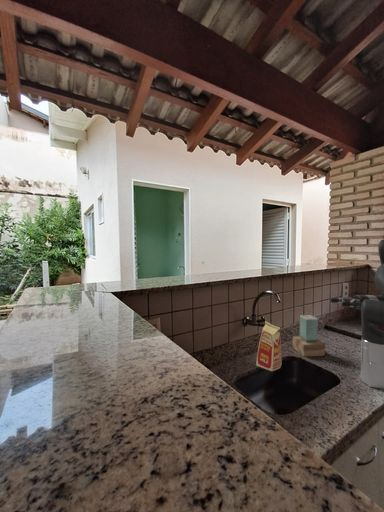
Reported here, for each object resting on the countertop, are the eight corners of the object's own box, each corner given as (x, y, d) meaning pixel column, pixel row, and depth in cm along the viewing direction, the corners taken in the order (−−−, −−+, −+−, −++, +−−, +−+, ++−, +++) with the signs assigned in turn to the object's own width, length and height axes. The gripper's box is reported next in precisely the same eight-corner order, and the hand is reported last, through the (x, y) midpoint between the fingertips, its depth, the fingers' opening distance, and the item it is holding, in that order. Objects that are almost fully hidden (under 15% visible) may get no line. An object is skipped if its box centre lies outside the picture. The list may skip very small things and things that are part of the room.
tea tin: (317, 342, 121) (318, 318, 120) (305, 342, 120) (306, 318, 120) (310, 337, 127) (310, 315, 126) (299, 337, 126) (299, 315, 126)
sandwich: (324, 355, 119) (324, 343, 118) (303, 356, 118) (303, 344, 117) (311, 346, 130) (312, 335, 129) (292, 347, 129) (292, 336, 128)
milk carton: (256, 365, 110) (256, 322, 109) (266, 358, 116) (266, 318, 115) (274, 372, 103) (274, 327, 102) (284, 365, 109) (284, 322, 108)
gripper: (355, 292, 132) (327, 292, 130) (377, 297, 117) (346, 297, 116) (354, 306, 132) (327, 306, 130) (376, 312, 117) (346, 312, 116)
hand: (336, 302), depth 123 cm, fingers open, 8 cm apart
